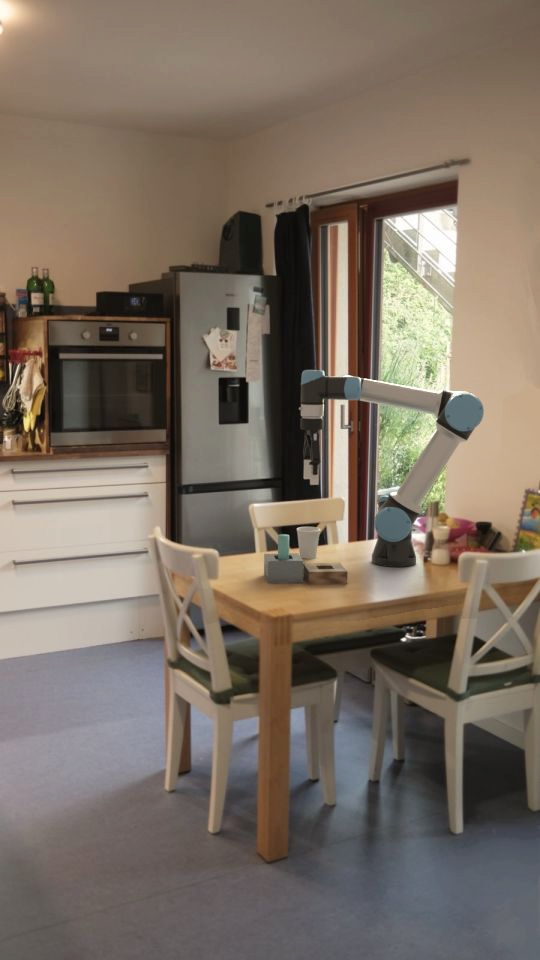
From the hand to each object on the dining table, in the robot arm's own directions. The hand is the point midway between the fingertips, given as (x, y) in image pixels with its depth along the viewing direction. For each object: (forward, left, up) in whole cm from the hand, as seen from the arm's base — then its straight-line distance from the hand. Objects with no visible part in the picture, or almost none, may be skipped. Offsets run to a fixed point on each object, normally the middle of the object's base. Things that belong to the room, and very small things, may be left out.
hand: (310, 481), depth 322 cm
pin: (+11, +16, -29) cm, 35 cm away
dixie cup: (-2, -16, -29) cm, 33 cm away
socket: (+11, +16, -29) cm, 35 cm away
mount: (-2, +18, -29) cm, 34 cm away
